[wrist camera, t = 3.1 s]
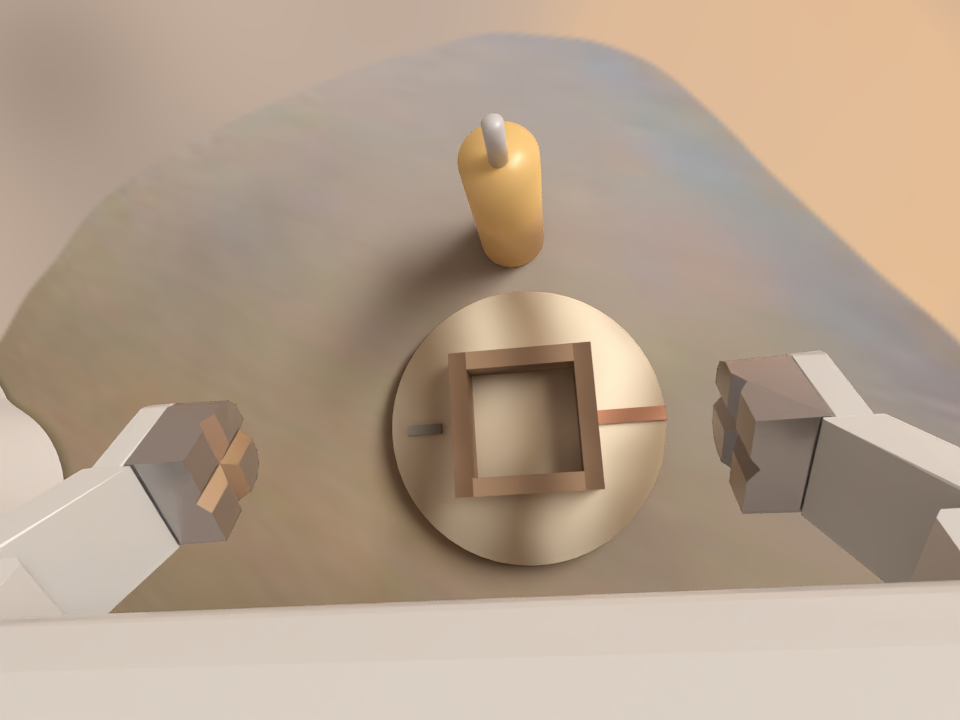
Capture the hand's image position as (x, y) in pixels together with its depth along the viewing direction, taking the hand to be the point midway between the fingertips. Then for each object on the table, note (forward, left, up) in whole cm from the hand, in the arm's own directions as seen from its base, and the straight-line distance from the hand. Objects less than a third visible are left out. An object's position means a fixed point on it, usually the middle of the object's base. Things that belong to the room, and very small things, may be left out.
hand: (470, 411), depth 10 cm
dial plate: (0, +2, -27) cm, 27 cm away
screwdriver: (0, +14, -27) cm, 30 cm away
